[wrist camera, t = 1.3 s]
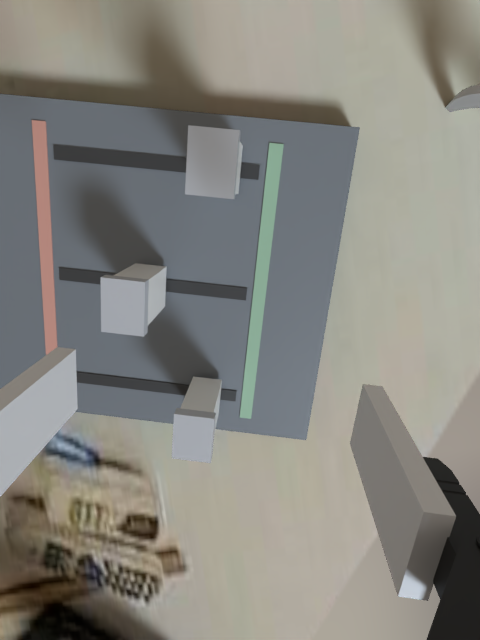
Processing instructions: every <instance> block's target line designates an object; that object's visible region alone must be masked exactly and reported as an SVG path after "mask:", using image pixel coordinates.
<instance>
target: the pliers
mask: <svg viewBox="0 0 480 640" xmlns="http://www.w3.org/2000/svg"><path fill="white" fill-rule="evenodd" d="M469 108H480V84H477V85H474V86H470V87H468V88H466V89H464V90H462V91H461V92H460V93H458V94H457V95H456V96H455V97H454V98H453V99H452V100H451V102H450V103H449V104H448V105H447V106H446V109H447V110H448V111H449V112H453V111H457V110H463V109H469Z"/></svg>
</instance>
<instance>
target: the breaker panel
mask: <svg viewBox="0 0 480 640" xmlns="http://www.w3.org/2000/svg"><path fill="white" fill-rule="evenodd" d="M188 125H191V126H201V127H212V128H222V129H233V130H240V142H241V144H242V145H243V149H242V161H241V172H240V183H239V194H236V195H235V199H226V198H217V197H207V196H197V195H187V194H185V183H186V163H187V143H188ZM359 128H360V127H349V126H338V125H328V124H317V123H306V122H296V121H285V120H274V119H264V118H253V117H242V116H232V115H221V114H210V113H200V112H189V111H178V110H167V109H157V108H146V107H135V106H125V105H114V104H103V103H93V102H82V101H71V100H61V99H50V98H39V97H29V96H18V95H7V94H0V389H1V388H2V387H4V386H5V385H7V384H8V383H9V382H11V381H12V380H13V379H15V378H16V377H17V376H19V375H20V374H21V373H23V372H24V371H26V370H27V369H28V368H30V367H31V366H32V365H34V364H35V363H36V362H38V361H39V360H40V359H42V358H43V357H44V356H46V355H47V354H49V353H50V352H51V351H53V350H54V349H55V348H57V347H61V348H69V349H76V373H77V404H78V409H77V410H76V411H75V412H82V413H90V414H98V415H106V416H114V417H122V418H130V419H139V420H147V421H155V422H163V423H171V424H174V413H175V410H176V408H181V405H182V403H183V400H184V398H185V395H186V393H187V391H188V388H189V386H190V383H191V381H192V378H193V376H194V377H202V378H211V379H219V380H222V384H221V395H220V406H219V415H218V419H217V424H216V428H215V429H220V430H228V431H236V432H244V433H252V434H261V435H269V436H277V437H285V438H293V439H301V440H306V438H307V432H308V426H309V420H310V415H311V409H312V403H313V397H314V391H315V385H316V380H317V374H318V368H319V362H320V356H321V350H322V345H323V339H324V333H325V327H326V321H327V315H328V309H329V304H330V298H331V292H332V286H333V280H334V274H335V269H336V263H337V257H338V251H339V245H340V239H341V234H342V228H343V222H344V216H345V210H346V204H347V199H348V193H349V187H350V181H351V175H352V169H353V164H354V158H355V152H356V146H357V140H358V134H359ZM135 263H138V264H147V265H157V266H166V267H167V269H166V296H165V307H164V308H163V309H162V310H161V312H160V313H159V314H158V315H157V316H156V317H155V318H154V319H153V321H152V322H151V323H150V324H149V325H148V331H147V334H146V335H145V336H144V337H142V336H134V335H125V334H116V333H107V332H101V278H100V277H102V276H104V275H115V274H117V273H119V272H121V271H123V270H124V269H126V268H128V267H130V266H132V265H133V264H135Z"/></svg>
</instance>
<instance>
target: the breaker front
mask: <svg viewBox="0 0 480 640" xmlns="http://www.w3.org/2000/svg"><path fill="white" fill-rule="evenodd" d="M242 149H243V145H242V144H241V142H240V130H233V129H222V128H212V127H201V126H191V125H188V143H187V163H186V183H185V194H187V195H197V196H207V197H217V198H226V199H235V195H236V194H239V183H240V172H241V161H242Z"/></svg>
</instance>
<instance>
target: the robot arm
mask: <svg viewBox="0 0 480 640" xmlns="http://www.w3.org/2000/svg"><path fill="white" fill-rule="evenodd" d="M77 409H78V404H77V373H76V349H69V348H61V347H57V348H55V349H54V350H53V351H51V352H50V353H49V354H47V355H46V356H44V357H43V358H42V359H40V360H39V361H38V362H36V363H35V364H34V365H32V366H31V367H30V368H28V369H27V370H26V371H24V372H23V373H21V374H20V375H19V376H17V377H16V378H15V379H13V380H12V381H11V382H9V383H8V384H7V385H5V386H4V387H2V388H1V389H0V496H1V495H2V494H3V493H4V492H5V491H6V490H7V489H8V487H9V486H10V485H11V484H12V483H13V482H14V481H15V479H16V478H17V477H18V476H19V475H20V474H21V473H22V471H23V470H24V469H25V468H26V467H27V466H28V465H29V464H30V462H31V461H32V460H33V459H34V458H35V457H36V456H37V454H38V453H39V452H40V451H41V450H42V449H43V448H44V446H45V445H46V444H47V443H48V442H49V441H50V440H51V439H52V437H53V436H54V435H55V434H56V433H57V432H58V431H59V429H60V428H61V427H62V426H63V425H64V424H65V423H66V421H67V420H68V419H69V418H70V417H71V416H72V415H73V414H74V412H75V411H76V410H77ZM350 445H351V448H352V451H353V454H354V458H355V461H356V464H357V467H358V470H359V474H360V477H361V480H362V483H363V486H364V490H365V493H366V496H367V499H368V502H369V505H370V509H371V512H372V515H373V518H374V521H375V525H376V528H377V531H378V534H379V537H380V541H381V543H382V547H383V550H384V553H385V556H386V560H387V563H388V566H389V569H390V572H391V575H392V579H393V582H394V585H395V588H396V592H397V595H398V597H406V598H412V599H419V600H427V601H428V599H429V596H430V593H431V590H432V587H433V584H434V585H435V588H436V590H437V592H438V595H439V597H440V603H439V606H438V609H437V611H436V614H435V617H434V620H433V623H432V626H431V629H430V631H429V634H428V638H427V640H480V514H479V513H478V511H477V509H476V508H475V506H474V505H473V503H472V502H471V500H470V499H469V497H468V496H467V495H466V492H465V491H464V489H463V488H462V486H461V485H459V481H458V480H457V478H456V477H455V475H454V474H453V472H452V471H451V470H450V469H449V468H448V467H447V466H446V465H444V464H443V463H442V462H441V461H440V460H438V459H435V458H427V457H422V455H421V453H420V452H419V450H418V448H417V446H416V445H415V443H414V441H413V439H412V438H411V436H410V434H409V432H408V431H407V429H406V427H405V425H404V424H403V422H402V420H401V418H400V416H399V415H398V413H397V411H396V409H395V408H394V406H393V404H392V402H391V401H390V399H389V397H388V395H387V394H386V392H385V390H384V388H383V387H382V386H374V385H366V384H363V386H362V391H361V395H360V400H359V404H358V409H357V414H356V418H355V423H354V427H353V432H352V437H351V441H350Z"/></svg>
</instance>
